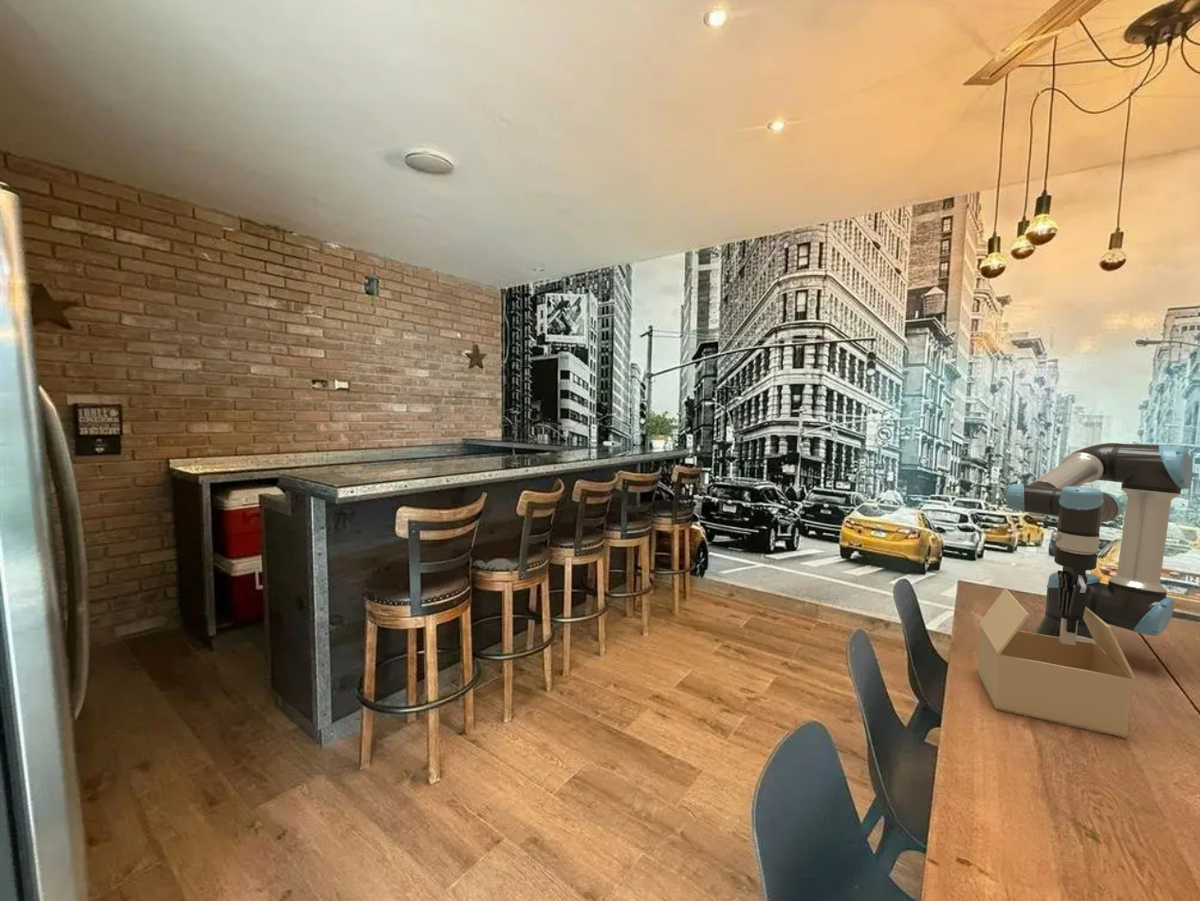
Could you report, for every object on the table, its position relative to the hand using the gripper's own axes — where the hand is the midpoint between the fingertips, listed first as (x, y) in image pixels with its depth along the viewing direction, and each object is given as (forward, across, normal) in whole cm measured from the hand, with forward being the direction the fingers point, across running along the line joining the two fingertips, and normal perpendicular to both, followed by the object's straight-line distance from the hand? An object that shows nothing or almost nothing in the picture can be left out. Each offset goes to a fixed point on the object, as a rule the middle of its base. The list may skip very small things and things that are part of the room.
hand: (1067, 642), depth 125 cm
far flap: (-3, 0, -13) cm, 13 cm away
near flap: (-3, 0, +6) cm, 7 cm away
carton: (+16, 0, -4) cm, 17 cm away
